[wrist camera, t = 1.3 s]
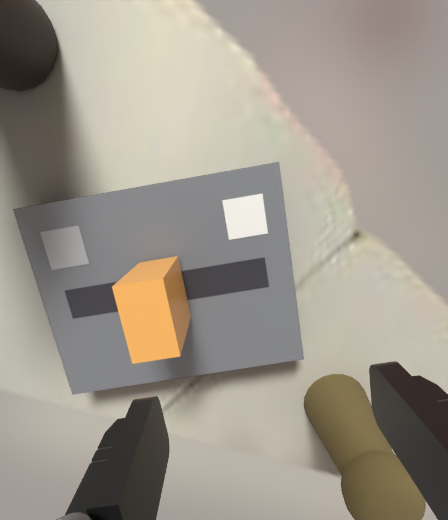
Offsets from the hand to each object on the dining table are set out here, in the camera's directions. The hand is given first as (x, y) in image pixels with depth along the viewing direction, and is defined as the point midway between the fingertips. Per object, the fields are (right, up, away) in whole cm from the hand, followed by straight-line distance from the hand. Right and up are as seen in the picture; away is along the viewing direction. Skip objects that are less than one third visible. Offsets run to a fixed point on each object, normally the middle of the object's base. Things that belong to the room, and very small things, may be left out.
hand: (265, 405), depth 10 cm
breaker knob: (-6, +2, +14) cm, 16 cm away
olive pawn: (+9, -9, +21) cm, 24 cm away
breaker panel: (-6, +3, +18) cm, 19 cm away
